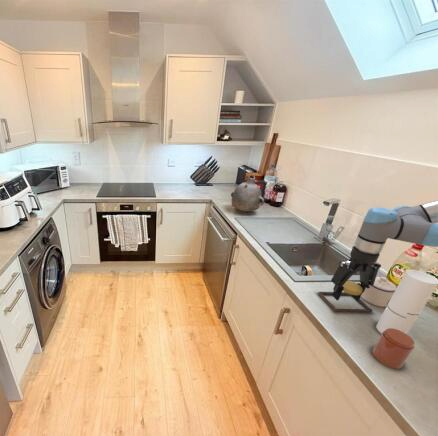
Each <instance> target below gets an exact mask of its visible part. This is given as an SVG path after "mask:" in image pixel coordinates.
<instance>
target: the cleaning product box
mask: <svg viewBox="0 0 438 436" xmlns="http://www.w3.org/2000/svg"><path fill="white" fill-rule="evenodd" d="M247 180H248V179H243V180H242V183H244V182H246V181H247ZM267 183H268V182H267V181H266V180H263V179H255V184H256V185H258V186H259V188H260V190H261V195H262V198H263V199H265V198H264V197H265V193H266V188H267V185H268V184H267ZM261 203H262V200H261Z"/></svg>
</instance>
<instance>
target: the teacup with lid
mask: <svg viewBox="0 0 438 436" xmlns="http://www.w3.org/2000/svg"><path fill="white" fill-rule="evenodd" d="M369 286H370V285H369ZM396 288H397V286H396V285H395V284H394V283H393V282H392V281H390V280H388V278H387V277H385V276H380V277H379V276H376V279H375V282H374V285H373V286H370V288H366V289H365V291H364V292H363V293H362V295H361V297H360V298H362V299H363V300H364V301H366V302H367V303H369V304H371V305H374V306H377V307H382V308H383V307H387V305H388V303H389V301H390V299H391V298H392V296H393V294H394V292H395V290H396Z"/></svg>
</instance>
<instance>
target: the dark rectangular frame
mask: <svg viewBox="0 0 438 436" xmlns="http://www.w3.org/2000/svg"><path fill="white" fill-rule="evenodd" d="M333 292H334V291H318V292H317V295H318V296H319V297H320V298H321V299H322V300H323V302H325V304H326V305H327V306H328V307H329V308H330V309H331V310H332V311H333V313H365V314H366V313H367V314H372V313H373V309H372V308H371V307H370V306H369V305H367V304H366V303H365V302H364V301H363V300H361V298H360V299H359V301H357V300H356V299H355V298H354V297H352V295H351V294H348V293H346V292H344V291H342V293H341V296H351V297H352V298H353V300H355V301H356V302H357V303H358V304H360V305H361V306H362V307H363V308H336V307H335V306H334V305H333V304H332V303H331V302H330V300H329V299H327V298H326V297H325V296H332V294H333Z"/></svg>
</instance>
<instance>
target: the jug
mask: <svg viewBox="0 0 438 436" xmlns="http://www.w3.org/2000/svg"><path fill="white" fill-rule="evenodd" d="M255 176H256V175H254V174H250V175H248V177H247V179H246V180H247V181H246V182H244V183H243V182H241V183H240V184H238V185H237V186H236V188H235V189H234V191H232V192H231V194H230V197H231V206H232V207H233V208H234V209H236V210H240V211H242V212H243V213H244V212H250V211H251V212H252V211H257V210H259V208H261V207H260V206H263V205H264V203H265V198H262V195H261V190H260V188H259V186H258V185H256V184H255V180H256V177H255ZM261 200H262V203H261Z"/></svg>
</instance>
